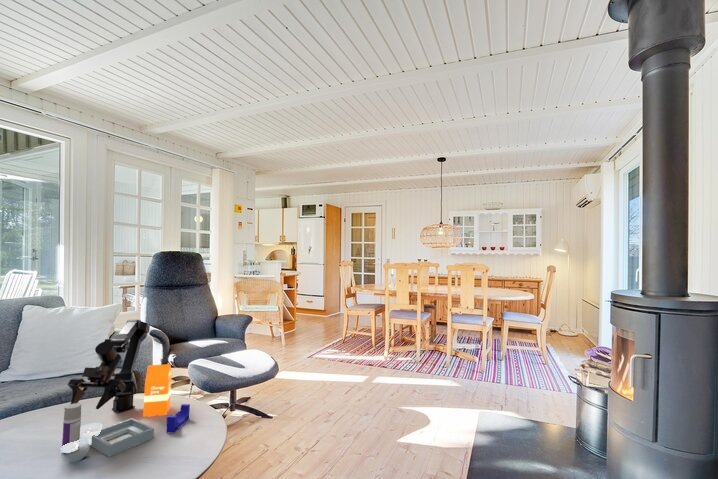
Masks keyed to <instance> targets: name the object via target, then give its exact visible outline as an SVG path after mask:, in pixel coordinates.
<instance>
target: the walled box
mask: <svg viewBox="0 0 718 479" xmlns="http://www.w3.org/2000/svg"><path fill="white" fill-rule="evenodd" d="M101 429H102V430H101V432H100V434H99V435H98V436H95V435H93V436H92V446H91V448H94V449H95V450H96V451H98V452H101V453H102V454H103V455H105V456H107V457H112V456H114V455H117V454H119V453H122V452H123V451H124V452H125V451H127V450H128V449H130V448H133V447H135V446H138V445H140V444H142V443H144V442H147V441H149V440H152V439H154V437H155V428H154V427H153V426H151V425H149V424H146V423H144V422H142V421H140V420H138V419H135V418H133V417H131V418H129V419H127V420H123V421H121V422H117V423H115V424H112V425H109V426H106V427H103V428H101ZM127 433H128V434H129V435H131V436H128V437H126V438H123V439H121V440H119V441H116V442H113V443H111V442H109V440H112V439H115V438H117V437H119V436H122V435H125V434H127Z"/></svg>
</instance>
